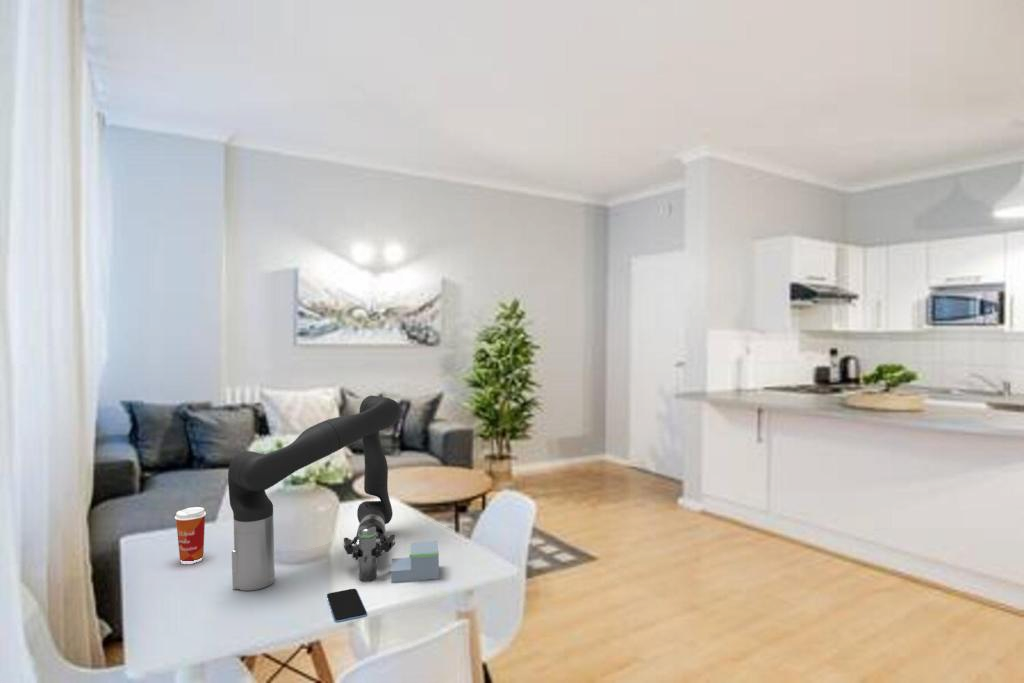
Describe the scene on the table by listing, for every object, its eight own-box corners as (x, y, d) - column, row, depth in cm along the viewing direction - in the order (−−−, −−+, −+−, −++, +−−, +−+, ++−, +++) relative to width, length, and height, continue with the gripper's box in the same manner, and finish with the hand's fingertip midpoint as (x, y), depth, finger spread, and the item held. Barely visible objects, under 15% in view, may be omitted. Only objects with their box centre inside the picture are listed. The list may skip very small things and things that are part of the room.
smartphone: (356, 587, 148) (368, 614, 134) (356, 590, 148) (368, 617, 134) (325, 593, 145) (334, 621, 131) (325, 596, 145) (334, 624, 131)
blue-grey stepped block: (391, 583, 150) (390, 556, 150) (392, 569, 159) (391, 543, 158) (438, 579, 152) (438, 552, 152) (437, 566, 161) (437, 540, 160)
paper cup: (169, 563, 163) (168, 513, 163) (193, 553, 170) (192, 505, 170) (190, 568, 160) (188, 516, 160) (214, 557, 167) (212, 508, 167)
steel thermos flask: (358, 582, 151) (357, 532, 151) (359, 574, 156) (358, 525, 155) (376, 581, 152) (375, 530, 151) (377, 573, 156) (376, 524, 156)
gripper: (344, 519, 166) (337, 542, 149) (397, 516, 169) (395, 538, 152) (345, 546, 167) (337, 572, 150) (397, 542, 169) (395, 567, 152)
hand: (366, 555), depth 151 cm, fingers closed on steel thermos flask, 4 cm apart
